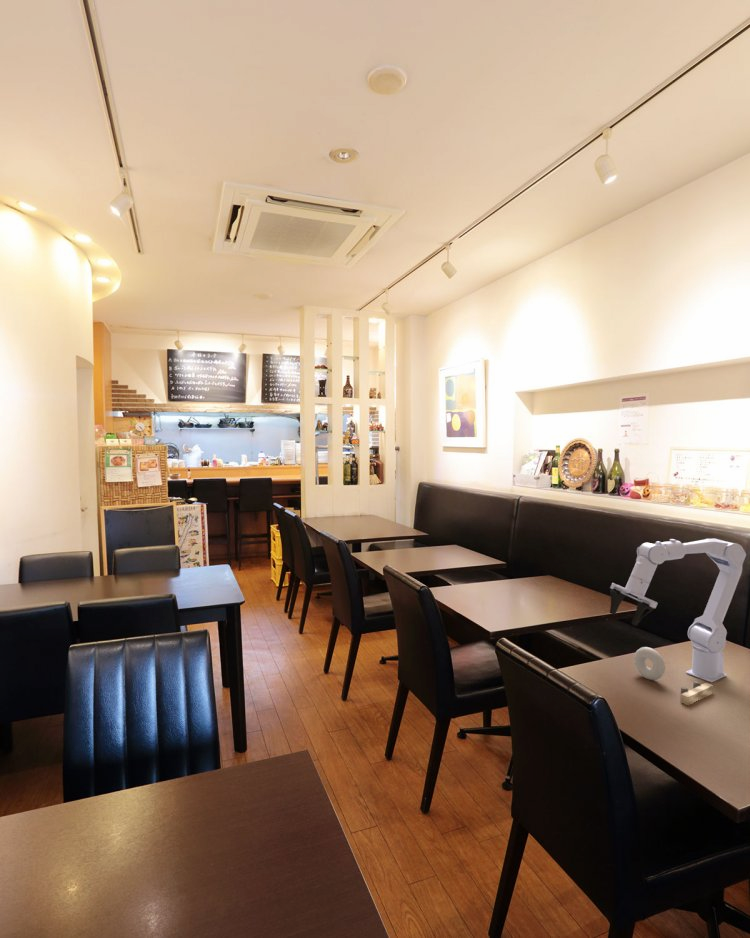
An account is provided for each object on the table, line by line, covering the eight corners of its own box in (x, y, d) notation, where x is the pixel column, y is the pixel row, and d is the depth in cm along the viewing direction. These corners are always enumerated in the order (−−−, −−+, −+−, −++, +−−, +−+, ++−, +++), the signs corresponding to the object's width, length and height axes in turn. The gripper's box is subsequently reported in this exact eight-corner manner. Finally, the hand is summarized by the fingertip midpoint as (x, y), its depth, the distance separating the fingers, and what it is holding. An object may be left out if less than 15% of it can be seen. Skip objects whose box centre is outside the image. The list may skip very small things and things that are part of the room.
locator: (699, 688, 159) (699, 678, 159) (712, 693, 156) (713, 683, 156) (674, 700, 152) (674, 690, 151) (687, 705, 148) (688, 695, 148)
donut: (667, 684, 162) (668, 652, 161) (660, 686, 160) (661, 654, 160) (637, 671, 171) (638, 641, 170) (630, 673, 169) (631, 643, 168)
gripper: (612, 567, 167) (596, 606, 167) (655, 586, 155) (637, 627, 155) (624, 572, 171) (607, 610, 171) (666, 591, 159) (649, 631, 159)
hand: (622, 619), depth 163 cm, fingers open, 7 cm apart
